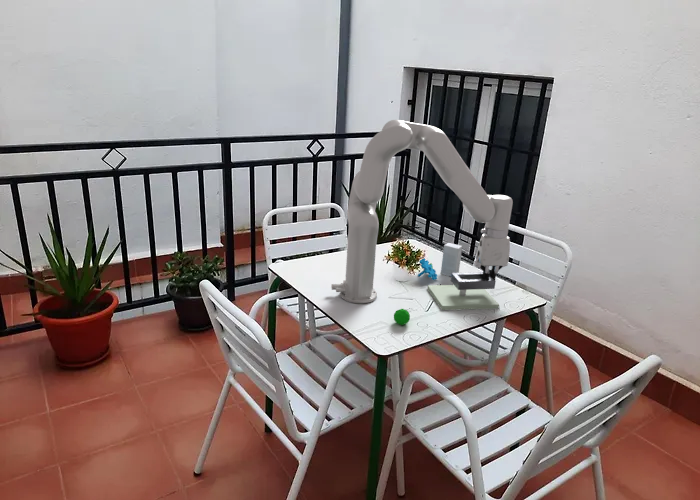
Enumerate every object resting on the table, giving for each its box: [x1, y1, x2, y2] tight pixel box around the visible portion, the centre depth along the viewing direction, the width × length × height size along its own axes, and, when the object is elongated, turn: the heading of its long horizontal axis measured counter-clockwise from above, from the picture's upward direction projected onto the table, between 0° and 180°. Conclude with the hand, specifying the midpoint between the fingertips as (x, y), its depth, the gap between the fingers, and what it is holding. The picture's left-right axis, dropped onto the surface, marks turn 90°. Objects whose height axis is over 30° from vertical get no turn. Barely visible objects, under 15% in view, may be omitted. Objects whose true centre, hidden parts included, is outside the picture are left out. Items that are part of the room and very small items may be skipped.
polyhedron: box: [393, 308, 411, 326], centre depth 152 cm, size 5×5×5 cm
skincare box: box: [440, 242, 463, 277], centre depth 189 cm, size 6×4×12 cm
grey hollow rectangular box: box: [450, 271, 497, 290], centre depth 170 cm, size 13×7×3 cm, turn 99°
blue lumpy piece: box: [417, 257, 438, 281], centre depth 187 cm, size 11×6×10 cm
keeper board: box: [427, 279, 500, 311], centre depth 170 cm, size 20×16×7 cm
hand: (488, 282), depth 171 cm, fingers closed on grey hollow rectangular box, 1 cm apart
